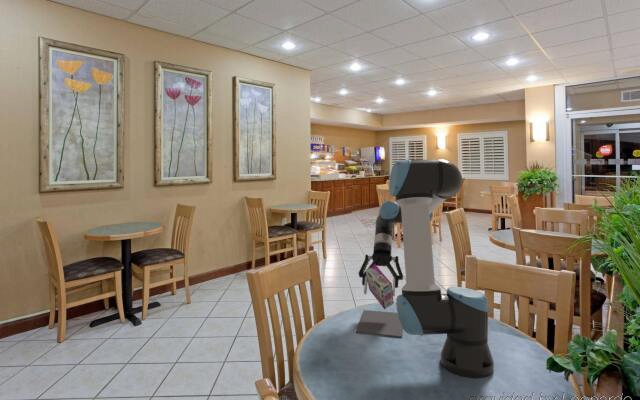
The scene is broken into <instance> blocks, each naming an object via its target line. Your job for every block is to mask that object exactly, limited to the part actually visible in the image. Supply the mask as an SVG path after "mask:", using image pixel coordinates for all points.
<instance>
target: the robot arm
mask: <svg viewBox="0 0 640 400" xmlns="http://www.w3.org/2000/svg"><path fill="white" fill-rule="evenodd" d="M462 185H463V176H462V172H461V171H460V169H459V168H458V167H457V166H456V165H455V164H454V163H453V162H450V161H448V160H446V159H438V158H437V159H410V158H409V159H404V160H398V161H396V162H394V163H393V166H392V168H391V171H390V175H389V181H388V190H389V195H390V196H391V197H395V201H392V200H385V201H384V202H382V204H381V205H380V207H379V210H378V215H377V217H376V218H375V219H376V220H375V229H374V230H375V231H374V233H375V234H374V239H373V240H374V241H373V243H374V244H373V249H372V250H373V252H372V253H373V254H371V255H368V254H365V256H364V257H365V258H364V261H363V263H362V265H361V266H360V269H359V271H358V277H359V278H362V279H361V284H362V286H363V294H364V295H367V292H368V281H367V275H366V269H368V268H369V267H371V266H373V265H374V264H376V266H377V267H386V268H387V269H388V271H389V272H390V274H391V275H392V277H393V278H392V290H393V297H395V296H396V289H398V288H399V281H403V280H404V274H403V272H402V269H401V266H400V262H399V256H398V255H396V256H392V246H393V244H392V243H393V232H394V231H393V229H394V226H395V225H396V224H401V225H402V227H401V228H402V239H403V256H404V270H405V284H404V285H403V287H401V294H399V295H397V296H396V299H395V300H396V302H395V306H396V313H398V316H399V320H400V323H401V325H402V328H403V331H404V332H405V333H406V334H407V335H409V336H420V337H421V336H424V335H425V336H426V335H427V336H428V335H446V337H445V341H444V344H443V346H442V349H441V352H440V364H441V365H442V367H444V368H445V369H446V370H448V371H450V372H451V373H454V374H456V375H459V376H461V377H467V378H484V377H485V378H486V377H488V376H490V375H492V374H493V372H494V370H495V369H494V366H495V365H494V358H493V355H492V352H491V350H490V345H489V341H488V340H489V339H488V336H489V333H488V332H489V331H488V330H489V312H490V309H489V302H488V298H487V296H486V295H484V294H483V293H482V292H481V291H478V290H475V289H471V288H467V287H462V286H450V287H447V289H446V291H445V292H446V293H442V290H441V287H440V286H439V285H438V284H436V279H435V278H436V277H435V268H434V253H433V244H432V243H433V242H432V231H431V229H432V228H431V221H432V219H433V216H434V215H433V212H434V211H435V210H436V209H438V208H439V206H441V204H443V203H444V202H445V201H446V200H449V199H452V198H453V197H455V196H456V195H457V194H458V193H459V191H460V190H461V188H462ZM371 260H372V262H371V263H370V265H369V262H370V261H371ZM392 261H393V263H395V268H396V271H397V272H396V271H395V269H394V267H393V266H392V264H391V262H392ZM397 273H398V274H397Z"/></svg>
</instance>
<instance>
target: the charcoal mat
mask: <svg viewBox="0 0 640 400" xmlns="http://www.w3.org/2000/svg"><path fill="white" fill-rule="evenodd" d="M403 331H404V329H403V328H402V325H401V323H400V320H399V316H398V312H394V311H392V312H391V311H380V310H368V309H364V310H363V311H362V314H361V316H360V319H359V321H358V323H357V327H356V329H355V334H359V335H368V336H369V335H370V336H380V337H390V338H398V339H399V338H401V339H402V338H403Z"/></svg>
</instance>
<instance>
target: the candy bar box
mask: <svg viewBox="0 0 640 400" xmlns="http://www.w3.org/2000/svg"><path fill="white" fill-rule="evenodd" d="M368 267H369V266H368ZM368 267H367V268H366V269H365V271H366V275H367V281H368V283H367V287H368V290H369V291H370V293H371V294H372V295H373V296H374V298H375V299H376V300H377V302H378V303H379V305H381V307H382V308H383V309H384V310H386V309H387V308H389V307H391V306H392V305H393V304H394V296H393V282H391V281H390V279H388V278H387V276H386V275H385V274H384V272H382V271H381V269H380V267H379V266H376V264H374V265H373V266H371V267H369V268H368Z"/></svg>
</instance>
